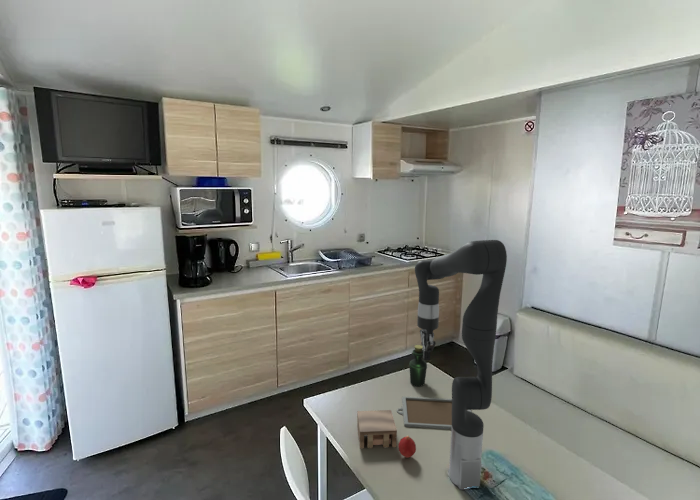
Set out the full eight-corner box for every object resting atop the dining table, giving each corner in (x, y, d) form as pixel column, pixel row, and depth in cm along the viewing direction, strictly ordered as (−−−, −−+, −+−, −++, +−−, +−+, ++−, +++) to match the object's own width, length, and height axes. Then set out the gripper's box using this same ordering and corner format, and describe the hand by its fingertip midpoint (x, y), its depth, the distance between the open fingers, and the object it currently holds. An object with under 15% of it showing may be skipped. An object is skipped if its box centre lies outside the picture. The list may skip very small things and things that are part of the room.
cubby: (396, 447, 129) (396, 430, 128) (359, 448, 128) (360, 431, 127) (390, 425, 140) (391, 410, 139) (357, 426, 140) (357, 411, 139)
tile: (390, 445, 130) (390, 439, 130) (372, 446, 130) (372, 439, 129) (384, 422, 143) (384, 416, 143) (368, 423, 143) (368, 417, 142)
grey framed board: (478, 428, 137) (397, 423, 140) (478, 432, 138) (397, 427, 140) (467, 399, 156) (395, 395, 159) (466, 403, 156) (395, 399, 159)
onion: (394, 456, 124) (395, 434, 123) (406, 448, 128) (406, 427, 127) (407, 466, 120) (408, 443, 119) (419, 457, 124) (419, 436, 122)
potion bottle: (415, 377, 177) (416, 341, 174) (429, 383, 171) (431, 346, 168) (405, 383, 171) (406, 346, 168) (420, 389, 165) (421, 352, 163)
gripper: (444, 320, 127) (441, 367, 130) (433, 308, 140) (431, 351, 143) (422, 321, 126) (420, 368, 129) (413, 308, 139) (412, 351, 142)
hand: (426, 359), depth 136 cm, fingers closed
